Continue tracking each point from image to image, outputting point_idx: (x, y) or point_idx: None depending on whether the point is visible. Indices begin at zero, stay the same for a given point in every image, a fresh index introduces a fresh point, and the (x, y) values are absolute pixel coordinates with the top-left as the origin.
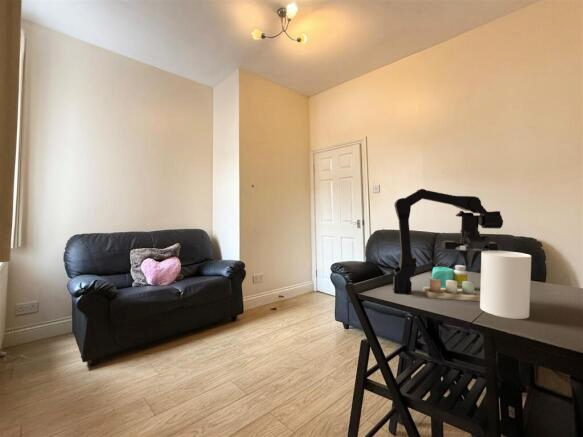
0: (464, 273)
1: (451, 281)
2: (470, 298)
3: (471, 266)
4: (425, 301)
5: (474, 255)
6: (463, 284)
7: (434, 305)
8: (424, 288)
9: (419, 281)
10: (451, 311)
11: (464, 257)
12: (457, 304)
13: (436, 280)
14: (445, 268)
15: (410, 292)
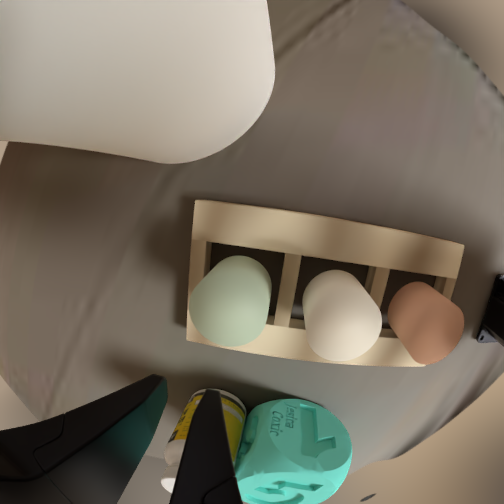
0: (184, 444)
1: (348, 324)
2: (263, 207)
3: (156, 379)
4: (481, 180)
5: (34, 460)
6: (267, 300)
7: (463, 127)
8: None
9: (353, 457)
10: (417, 57)
11: (229, 502)
12: (366, 135)
13: (434, 332)
14: (266, 495)
15: (496, 287)
